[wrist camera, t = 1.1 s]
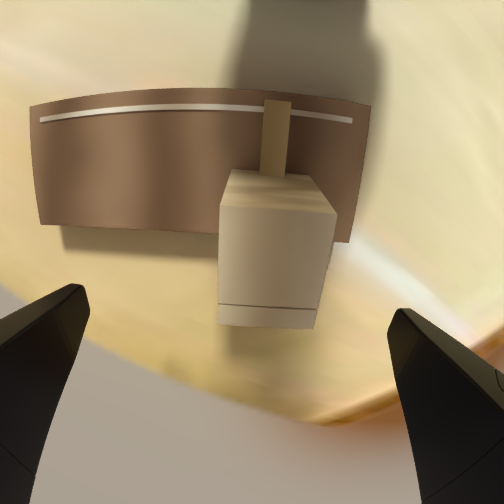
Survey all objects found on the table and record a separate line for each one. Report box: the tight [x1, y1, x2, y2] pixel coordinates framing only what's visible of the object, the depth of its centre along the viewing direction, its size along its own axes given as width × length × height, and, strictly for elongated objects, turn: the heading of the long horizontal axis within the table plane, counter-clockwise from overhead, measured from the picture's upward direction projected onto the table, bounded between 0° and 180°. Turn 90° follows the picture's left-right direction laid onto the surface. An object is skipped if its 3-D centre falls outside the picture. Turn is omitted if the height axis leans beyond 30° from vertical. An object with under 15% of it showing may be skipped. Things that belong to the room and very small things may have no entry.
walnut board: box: [30, 88, 371, 243], centre depth 17 cm, size 20×8×3 cm, turn 86°
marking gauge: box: [217, 100, 338, 329], centre depth 14 cm, size 4×9×8 cm, turn 176°
